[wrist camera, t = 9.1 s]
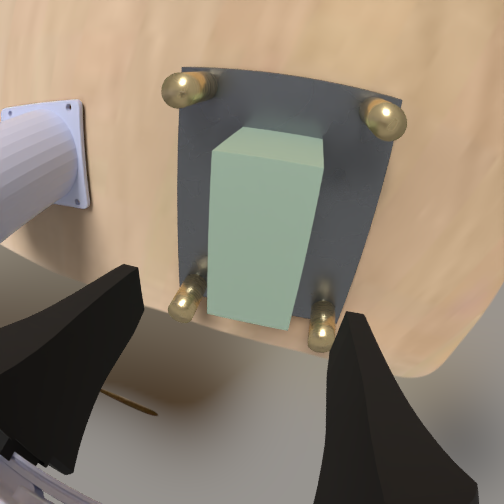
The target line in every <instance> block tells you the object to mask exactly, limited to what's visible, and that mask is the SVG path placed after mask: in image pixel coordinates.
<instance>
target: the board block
mask: <svg viewBox="0 0 504 504" xmlns="http://www.w3.org/2000/svg"><path fill="white" fill-rule="evenodd" d="M323 171H324V157H323V139H319V138H313V137H308V136H302V135H296V134H290V133H284V132H278V131H271V130H264V129H257V128H249V127H242V128H241V129H239V130H238V131H237V132H235V133H234V134H233V135H231V136H230V137H229V138H228V139H226V140H225V141H224V142H222V143H221V144H220V145H219V146H217V147H216V148H215V149H213V150H212V159H211V179H210V202H209V231H208V274H207V314H211V315H215V316H220V317H224V318H229V319H233V320H238V321H242V322H247V323H252V324H257V325H262V326H266V327H271V328H277V329H282V330H287V331H288V328H289V324H290V320H291V316H292V312H293V308H294V304H295V300H296V296H297V291H298V287H299V283H300V279H301V274H302V270H303V266H304V261H305V257H306V253H307V248H308V244H309V239H310V234H311V230H312V225H313V220H314V216H315V211H316V206H317V201H318V196H319V191H320V186H321V181H322V176H323Z"/></svg>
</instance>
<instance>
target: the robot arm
mask: <svg viewBox="0 0 504 504" xmlns="http://www.w3.org/2000/svg"><path fill="white" fill-rule="evenodd" d="M70 105H71V109H70ZM78 200H79V201H78ZM79 202H80V203H79ZM52 204H58V205H64V206H70V207H76V208H81V209H86V208H87V207H88V206H89V205H90V198H89V190H88V181H87V171H86V161H85V148H84V132H83V106H82V102H81V101H80V100H79V99H72V100H61V101H51V102H42V103H34V104H27V105H20V106H14V107H8V108H4V109H2V111H1V122H0V243H1V242H3V241H4V240H5V239H6V238H8V237H9V236H10V235H11V234H13V233H14V232H15V231H17V230H18V229H19V228H20V227H22V226H23V225H24V224H26V223H27V222H28V221H30V220H31V219H32V218H34V217H35V216H36V215H38V214H39V213H41V212H42V211H43V210H45V209H46V208H48V207H49V206H51V205H52ZM143 312H144V304H143V298H142V292H141V285H140V278H139V270H138V267H134V266H130V265H126V264H123V265H121V266H119V267H117V268H115V269H114V270H112V271H110V272H108V273H107V274H105V275H103V276H102V277H100V278H99V279H97V280H95V281H94V282H92V283H90V284H89V285H87V286H85V287H84V288H82V289H80V290H79V291H77V292H75V293H74V294H72V295H70V296H68V297H67V298H65V299H63V300H61V301H59V302H58V303H56V304H54V305H52V306H51V307H49V308H47V309H45V310H43V311H41V312H39V313H36V314H34V315H32V316H30V317H28V318H25V319H23V320H20V321H17V322H15V323H12V324H10V325H7V326H4V327H2V328H0V504H54V503H52V502H51V501H49V500H47V499H45V498H44V495H43V491H44V492H46V493H48V494H49V495H51V496H53V497H54V498H56V499H57V500H59V501H61V502H63V503H64V504H101V503H99V502H97V501H95V500H93V499H91V498H89V497H87V496H85V495H83V494H82V493H80V492H78V491H76V490H74V489H72V488H71V487H68V486H67V485H65V484H64V483H62V482H60V481H58V480H56V479H55V478H53V477H52V476H50V475H48V474H47V473H45V472H44V471H42V470H41V469H39V468H37V467H36V465H37V463H39V464H41V465H42V466H44V467H47V466H48V465H49V466H51V467H52V468H54V469H56V470H57V471H59V472H61V473H63V474H64V475H68V474H71V473H73V472H74V467H75V463H76V459H77V455H78V450H79V447H80V443H81V440H82V436H83V434H84V431H85V427H86V424H87V422H88V419H89V416H90V414H91V411H92V409H93V406H94V403H95V401H96V399H97V396H98V394H99V392H100V390H101V387H102V386H103V384H104V382H105V380H106V378H107V376H108V375H109V373H110V371H111V370H112V368H113V366H114V365H115V363H116V361H117V360H118V358H119V356H120V355H121V353H122V351H123V350H124V348H125V347H126V345H127V343H128V342H129V340H130V339H131V337H132V335H133V334H134V332H135V329H136V327H137V325H138V323H139V320H140V319H141V316H142V314H143ZM326 390H327V391H326V392H327V393H326V436H325V447H324V453H323V460H322V465H321V471H320V476H319V481H318V486H317V491H316V496H315V499H314V503H313V504H479V496H478V487H477V483H476V482H475V481H474V480H473V479H472V478H471V477H469V476H468V475H467V474H466V473H465V472H464V471H463V470H462V469H461V468H460V467H459V466H458V465H457V464H456V463H455V462H454V461H453V460H452V459H451V458H450V457H449V456H448V454H447V453H446V452H445V451H444V450H443V449H442V448H441V446H440V445H439V444H438V443H437V442H436V440H435V439H434V438H433V437H432V435H431V434H430V433H429V431H428V430H427V429H426V428H425V426H424V425H423V423H422V422H421V421H420V419H419V418H418V416H417V415H416V413H415V412H414V411H413V409H412V407H411V406H410V404H409V403H408V401H407V399H406V398H405V396H404V394H403V393H402V391H401V389H400V387H399V386H398V384H397V382H396V380H395V378H394V376H393V374H392V372H391V370H390V368H389V366H388V364H387V362H386V360H385V358H384V356H383V354H382V352H381V350H380V348H379V346H378V344H377V342H376V339H375V337H374V335H373V333H372V331H371V328H370V326H369V324H368V322H367V320H366V317H365V316H364V314H359V313H354V312H348V311H346V313H345V316H344V318H343V321H342V323H341V325H340V328H339V330H338V333H337V335H336V338H335V340H334V342H333V345H332V347H331V349H330V353H329V362H328V370H327V389H326ZM42 490H43V491H42Z"/></svg>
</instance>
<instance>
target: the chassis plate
mask: <svg viewBox="0 0 504 504" xmlns="http://www.w3.org/2000/svg"><path fill="white" fill-rule="evenodd" d="M161 93H162V97H163V99H164V101H165V102H166V104H167V105H169V106H170V107H173V108H177V109H178V108H179V130H178V176H177V210H178V256H179V281H180V288H179V290H178V292H177V293H176V295H175V297H174V298H173V300H172V302H171V303H170V305H169V307H168V313H169V315H170V316H171V317H172V318H173V319H174V320H176V321H178V322H181V323H188V322H190V321H191V320H192V318H193V316H194V314H195V312H196V310H197V308H198V305H199V303H200V301H201V299H202V297H207V274H208V231H209V202H210V179H211V159H212V150H213V149H215V148H216V147H217V146H219V145H220V144H221V143H222V142H224V141H225V140H226V139H228V138H229V137H230V136H231V135H233V134H234V133H235V132H237V131H238V130H239V129H241V128H242V127H249V128H257V129H264V130H271V131H278V132H284V133H290V134H296V135H302V136H308V137H313V138H319V139H323V157H324V171H323V176H322V181H321V186H320V191H319V196H318V201H317V206H316V211H315V216H314V220H313V225H312V230H311V234H310V239H309V244H308V248H307V253H306V257H305V261H304V266H303V270H302V274H301V279H300V283H299V287H298V291H297V296H296V300H295V304H294V308H293V312H292V316H297V317H303V318H308V319H310V326H309V336H308V346H309V348H310V349H311V350H313V351H315V352H319V353H324V352H328V351H330V349H331V347H332V345H333V342H334V340H335V324H337V321H338V318H339V316H340V313H341V311H342V308H343V305H344V303H345V300H346V297H347V295H348V292H349V289H350V286H351V284H352V281H353V278H354V275H355V272H356V269H357V266H358V263H359V261H360V258H361V255H362V252H363V248H364V245H365V242H366V239H367V236H368V233H369V230H370V226H371V223H372V220H373V217H374V213H375V210H376V206H377V203H378V199H379V196H380V192H381V189H382V185H383V181H384V177H385V174H386V170H387V166H388V162H389V158H390V154H391V150H392V146H393V141H394V140H397V139H399V138H400V137H401V136H402V135H403V134H404V132H405V130H406V127H407V119H406V116H405V114H404V112H403V110H402V109H401V104H402V100H401V99H398V98H395V97H391V96H388V95H384V94H380V93H376V92H373V91H369V90H365V89H360V88H356V87H352V86H347V85H343V84H338V83H333V82H328V81H323V80H317V79H312V78H306V77H299V76H293V75H286V74H279V73H271V72H262V71H252V70H241V69H227V68H209V67H182V72H181V73H174V74H172V75H170V76H169V77H167V78H166V79H165V81H164V83H163V85H162V90H161Z"/></svg>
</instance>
